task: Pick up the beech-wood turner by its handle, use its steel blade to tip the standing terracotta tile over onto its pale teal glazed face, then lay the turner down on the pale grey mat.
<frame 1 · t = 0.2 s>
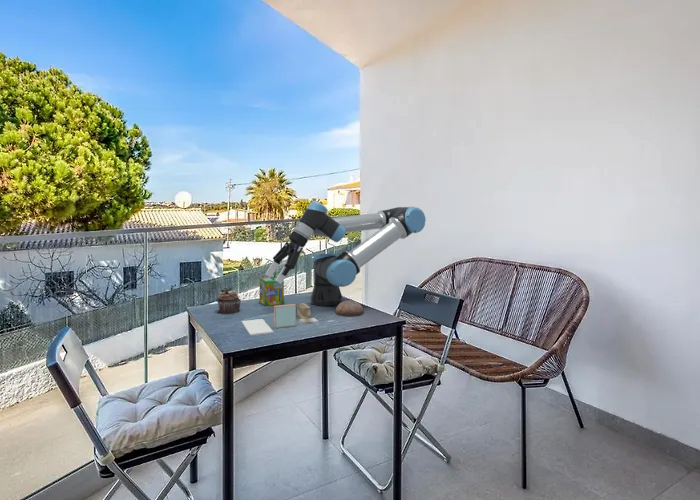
hand: (272, 279, 165), 15 cm above the table, tool tilted 35°, fingers open, 13 cm apart
decorative stone: (349, 314, 171), on the table
chalk box: (271, 304, 188), on the table
tile: (285, 326, 151), on the table
mat: (256, 327, 149), on the table
cupcake: (229, 312, 173), on the table
turner: (303, 318, 163), on the table
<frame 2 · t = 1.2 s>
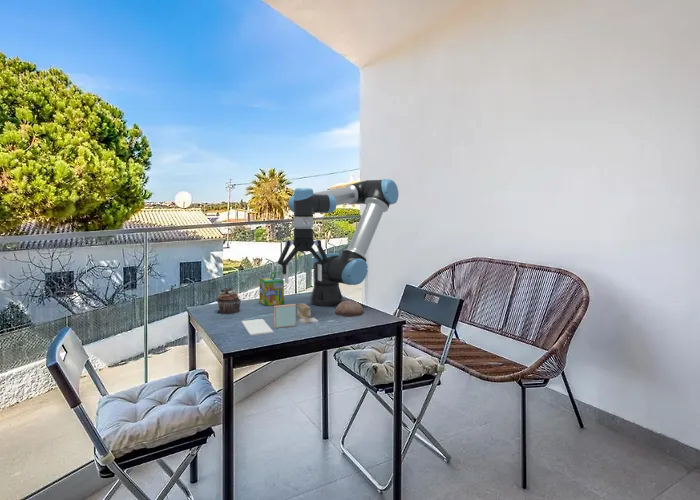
hand: (303, 281, 161), 15 cm above the table, tool pointing down, fingers open, 13 cm apart
nothing on the table moved.
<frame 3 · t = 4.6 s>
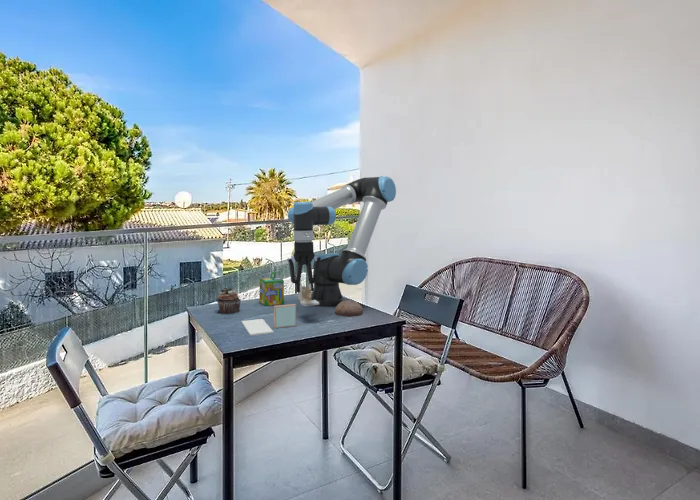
hand: (304, 299, 162), 7 cm above the table, tool pointing down, fingers closed on turner, 3 cm apart
turner: (304, 300, 163), point 7 cm above the table, touching gripper
everything else where it was.
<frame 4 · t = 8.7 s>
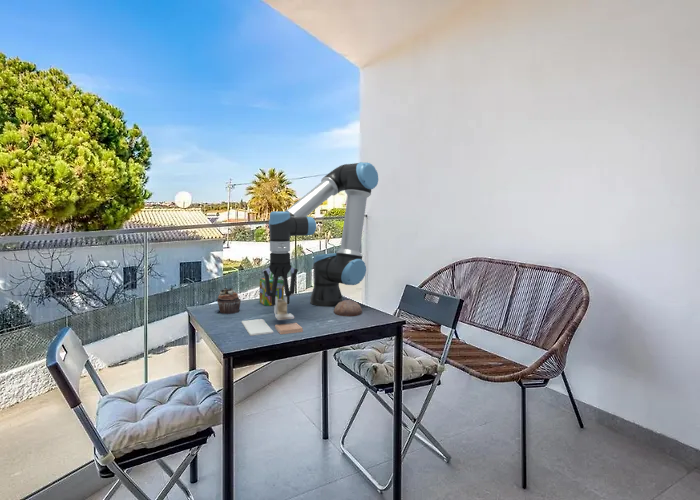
hand: (280, 312, 156), 4 cm above the table, tool pointing down, fingers closed on turner, 3 cm apart
tile: (285, 325, 150), on the table, tilted 90°
turner: (280, 313, 156), point 3 cm above the table, touching gripper
everything else where it was.
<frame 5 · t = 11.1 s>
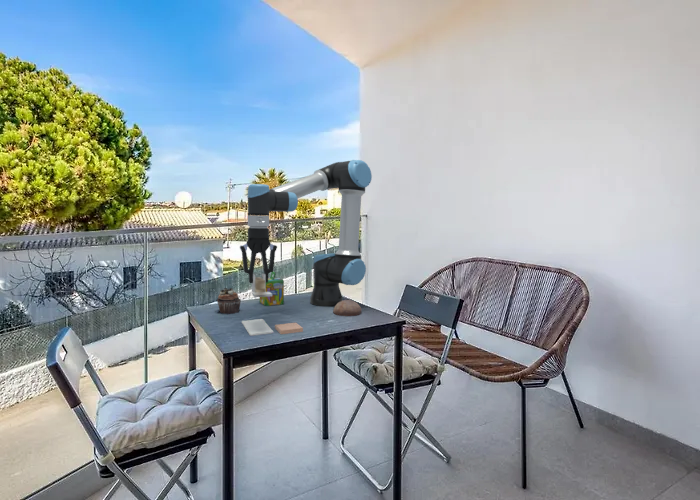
hand: (258, 291, 149), 13 cm above the table, tool pointing down, fingers closed on turner, 3 cm apart
turner: (258, 292, 149), point 13 cm above the table, touching gripper
everything else where it was.
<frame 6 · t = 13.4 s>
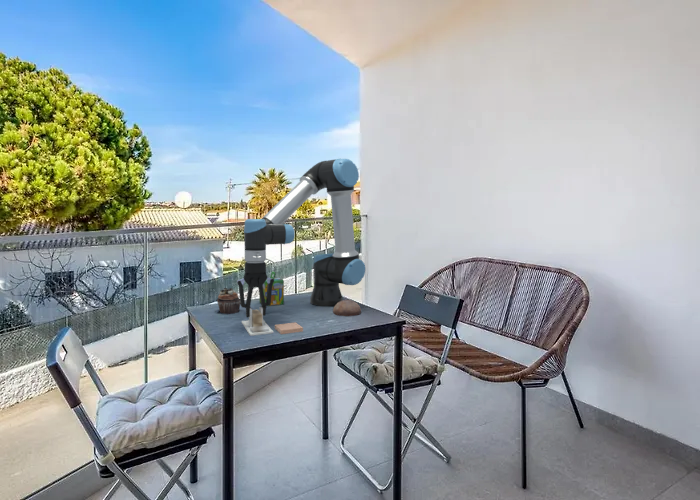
hand: (255, 324, 149), 1 cm above the table, tool pointing down, fingers closed on turner, 3 cm apart
turner: (255, 325, 150), point 1 cm above the table, touching gripper, mat
when the fingers open (1 cm above the table, at t = 13.4 s): turner stays where it is, resting on mat.
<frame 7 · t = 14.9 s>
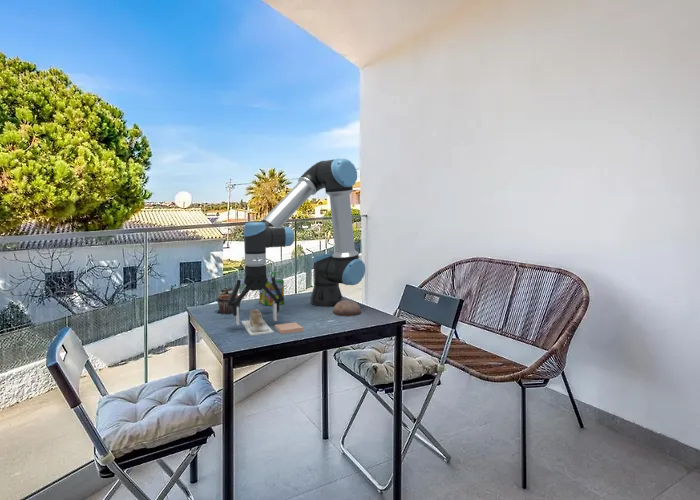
hand: (256, 322, 149), 2 cm above the table, tool pointing down, fingers open, 13 cm apart
turner: (255, 325, 150), point 1 cm above the table, touching mat
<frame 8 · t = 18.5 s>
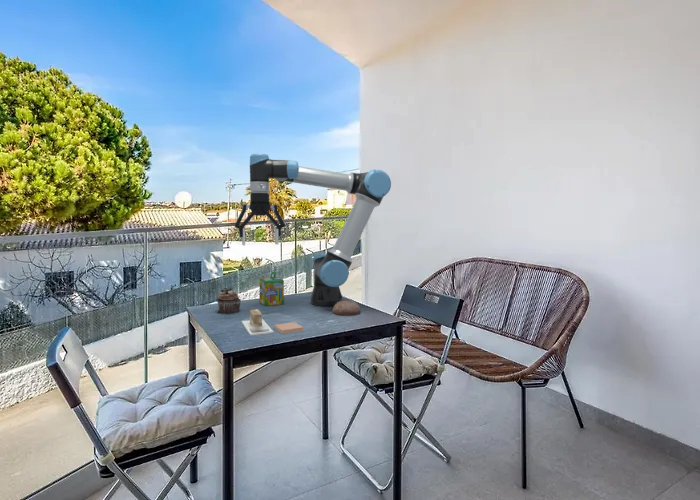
hand: (260, 244, 167), 29 cm above the table, tool pointing down, fingers open, 13 cm apart
at the end: tile tilted 90°; turner inside the target area (0.8 cm from its centre), point 0.6 cm above the table; the gripper is holding nothing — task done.
